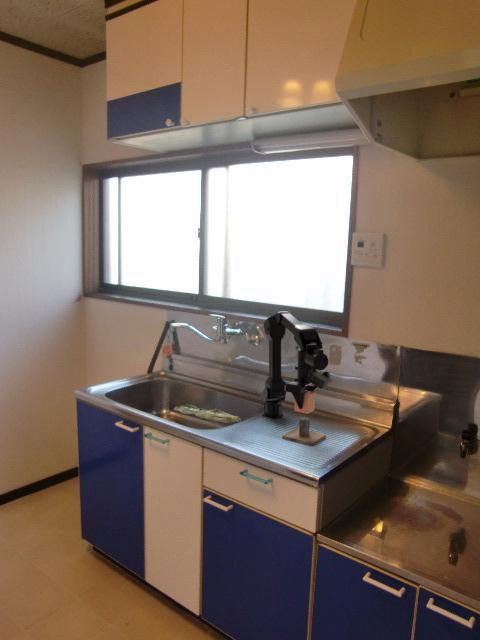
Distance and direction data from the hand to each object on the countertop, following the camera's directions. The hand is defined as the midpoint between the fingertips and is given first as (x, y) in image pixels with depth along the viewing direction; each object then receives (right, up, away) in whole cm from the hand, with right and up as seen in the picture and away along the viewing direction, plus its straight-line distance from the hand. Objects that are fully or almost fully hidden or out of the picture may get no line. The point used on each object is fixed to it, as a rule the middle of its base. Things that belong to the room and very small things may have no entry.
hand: (304, 406), depth 178 cm
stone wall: (-36, -8, +26) cm, 45 cm away
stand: (0, -11, +2) cm, 11 cm away
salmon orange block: (0, -1, 0) cm, 1 cm away
